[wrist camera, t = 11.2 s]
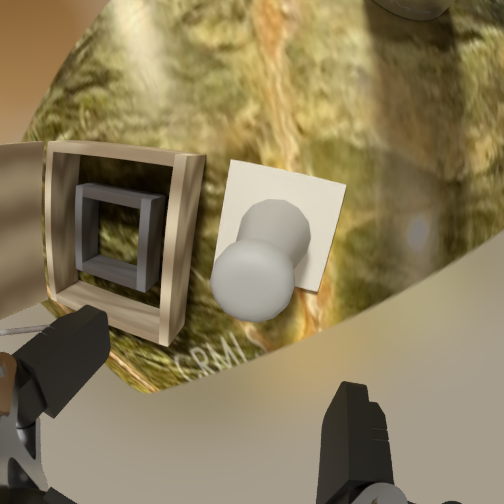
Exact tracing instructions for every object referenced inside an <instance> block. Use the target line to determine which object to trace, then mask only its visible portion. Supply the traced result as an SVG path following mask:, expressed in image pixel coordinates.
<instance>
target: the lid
mask: <svg viewBox="0 0 504 504" xmlns="http://www.w3.org/2000/svg"><path fill="white" fill-rule="evenodd" d="M43 152H44V142H43V141H37V142H22V143H10V144H0V319H3V318H5V317H7V316H10V315H12V314H14V313H17V312H19V311H22V310H23V309H26V308H29V307H31V306H33V305H36V304H38V303H41V302H43V301H45V300H48V294H47V287H46V278H45V269H44V257H43V243H42V217H41V191H42V166H43Z"/></svg>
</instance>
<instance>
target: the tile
mask: <svg viewBox="0 0 504 504" xmlns="http://www.w3.org/2000/svg"><path fill="white" fill-rule="evenodd" d="M345 189H346V184H342V183H338V182H334V181H330V180H326V179H322V178H318V177H314V176H310V175H305V174H301V173H297V172H292V171H288V170H283V169H279V168H274V167H269V166H264V165H259V164H254V163H249V162H244V161H239V160H233V159H232V160H231V163H230V168H229V174H228V180H227V185H226V191H225V197H224V203H223V209H222V215H221V221H220V227H219V234H218V240H217V246H216V253H215V259H214V263H215V261H216V259H217V258H218V257H219V256H220V255H221V253H222V252H223V251H224V250H225V249H226V248H227V247H228V246H229V245H230V244H232V243H235V242H236V239H237V235H238V231H239V227H240V223H241V219H242V217H243V216H244V214H245V213H246V212H247V211H248V210H249V209H250V207H251V206H252V205H254V204H257V203H259V202H262V201H264V200H266V199H278V200H286V201H287V202H289V203H291V204H293V205H294V206H296V207H298V208H299V209H300V210H301V212H302V213H303V214H304V216H305V217H306V219H307V220H308V221H309V226H310V233H311V240H310V244H309V247H308V250H307V253H306V255H305V256H304V257H303V259H302V260H301V261H300V262H299V264H298V265H297V266H296V268H295V269H294V277H295V286H296V287H300V288H304V289H308V290H313V291H317V292H318V289H319V285H320V282H321V279H322V275H323V272H324V268H325V265H326V261H327V258H328V254H329V251H330V247H331V244H332V240H333V236H334V232H335V229H336V225H337V221H338V217H339V213H340V209H341V205H342V201H343V197H344V193H345Z"/></svg>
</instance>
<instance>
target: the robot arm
mask: <svg viewBox="0 0 504 504" xmlns="http://www.w3.org/2000/svg"><path fill="white" fill-rule="evenodd" d="M374 1H375V2H376V3H378V4H379V5H380V6H382V7H383V8H385V9H386V10H388V11H390V12H392V13H394V14H396V15H399V16H401V17H404V18H407V19H411V20H419V21H425V20H432V19H435V18H437V17H438V16H440V15H441V14H442V13H443V12H444V11H445V10H446V9H447V8H448V7H449V6H450V5H451V4H452V3H453V2H454V1H455V0H374ZM109 353H110V336H109V325H108V316H107V313H106V312H105V311H103V310H100V309H98V308H95V307H93V306H90V305H84V306H83V307H82V308H80V309H79V310H78V311H76V312H75V313H70V314H67V315H65V316H62V317H59V318H58V319H57V320H55V321H54V322H53V323H52V324H50V326H49V327H48V326H47V327H46V328H45V329H44V330H42V333H38V334H37V335H36V336H35V337H34V338H32V339H31V340H30V341H28V342H27V343H26V344H25V345H23V346H22V347H21V348H20V349H18V351H16V352H15V353H14V354H12V355H10V354H9V353H5V352H0V504H77V503H75V502H74V501H72V500H70V499H69V498H67V497H66V496H64V495H63V494H61V493H59V492H58V491H57V490H55V489H53V488H52V487H50V488H49V489H48V484H47V480H46V477H45V475H44V472H43V469H42V464H41V443H40V418H39V416H40V414H41V413H42V412H45V413H46V414H47V415H49V416H50V417H52V418H55V417H56V416H57V415H58V414H59V412H60V411H61V410H62V409H63V408H64V407H65V406H66V405H67V403H68V402H69V401H70V400H71V399H72V398H73V397H74V396H75V394H76V393H77V392H78V391H79V390H80V389H81V388H82V387H83V386H84V384H85V383H86V382H87V381H88V380H89V379H90V378H91V377H92V375H94V373H95V372H96V371H97V370H98V369H99V368H100V367H101V366H102V365H103V364H104V363H105V361H106V360H107V358H108V356H109ZM388 440H389V438H388V431H387V424H386V418H385V414H384V413H383V411H382V409H381V408H380V406H379V405H378V403H376V402H369V397H368V390H367V386H366V385H363V384H358V383H351V382H346V381H343V382H342V383H341V384H340V386H339V388H338V390H337V392H336V394H335V396H334V398H333V400H332V402H331V404H330V406H329V408H328V409H327V412H326V414H325V416H324V420H323V424H322V433H321V450H320V464H319V477H318V487H317V498H316V504H414V503H411V502H409V501H407V498H406V497H405V495H404V493H403V492H402V491H401V490H400V489H399V488H398V487H396V486H395V485H394V480H393V471H392V461H391V453H390V445H389V442H388ZM442 504H461V503H460V502H457V501H448V502H444V503H442Z"/></svg>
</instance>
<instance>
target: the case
mask: <svg viewBox="0 0 504 504" xmlns="http://www.w3.org/2000/svg"><path fill="white" fill-rule="evenodd" d="M81 154H82V155H92V156H101V157H109V158H117V159H125V160H132V161H139V162H146V163H153V164H160V165H166V166H173V173H172V180H171V188H170V196H169V204H168V213H167V222H166V232H165V243H164V254H163V267H162V281H161V299H160V309H159V308H155V307H152V306H149V305H146V304H144V303H141V302H138V301H135V300H132V299H129V298H126V297H123V296H121V295H118V294H115V293H112V292H109V291H107V290H104V289H101V288H99V287H96V286H93V285H91V284H88V283H86V282H83V281H80V280H79V277H78V270H81V271H84V272H86V273H89V274H92V275H94V276H97V277H100V278H103V279H106V280H109V281H111V282H114V283H117V284H120V285H123V286H126V287H129V288H132V289H135V290H138V291H141V292H144V293H146V292H147V291H148V290H149V289H150V288H151V287H152V286H153V285H155V284H156V283H157V282H158V281H159V265H160V252H161V240H162V229H163V219H164V210H165V201H166V195H163V194H158V193H152V192H147V191H142V190H137V189H131V188H126V187H120V186H115V185H109V184H104V183H98V182H90V183H86V184H81V185H78V180H79V166H80V155H81ZM205 159H206V155H204V154H198V153H191V152H184V151H177V150H170V149H163V148H155V147H147V146H138V145H129V144H119V143H108V142H96V141H82V140H67V141H50V142H48V149H47V162H46V180H45V233H46V252H47V265H48V275H49V284H50V292H51V299H52V300H54V301H56V302H58V303H61V304H63V305H65V306H67V307H69V308H71V309H73V310H76V311H78V310H79V309H80V308H82V307H83V306H84V305H90V306H93V307H95V308H98V309H100V310H103V311H105V312H106V313H107V316H108V325H110V326H113V327H115V328H118V329H120V330H123V331H125V332H128V333H131V334H133V335H136V336H139V337H141V338H144V339H147V340H149V341H152V342H155V343H158V344H160V345H163V346H166V347H168V346H169V345H170V344H171V342H172V341H173V339H174V338H175V337H176V335H177V334H178V333H179V331H180V330H181V328H182V327H183V326H184V323H185V312H186V302H187V292H188V283H189V273H190V265H191V256H192V248H193V240H194V233H195V225H196V218H197V211H198V204H199V197H200V190H201V184H202V177H203V171H204V165H205ZM99 200H100V201H105V202H110V203H115V204H119V205H124V206H128V207H133V208H138V209H141V211H140V224H139V239H138V258H137V266H135V265H132V264H129V263H125V262H122V261H119V260H116V259H112V258H109V257H106V256H103V255H100V254H98V219H99ZM47 326H48V327H49V326H50V325H42V326H33V327H24V328H15V329H5V330H0V336H1V335H11V334H20V333H29V332H37V331H42V330H44V329H45V328H46V327H47Z"/></svg>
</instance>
